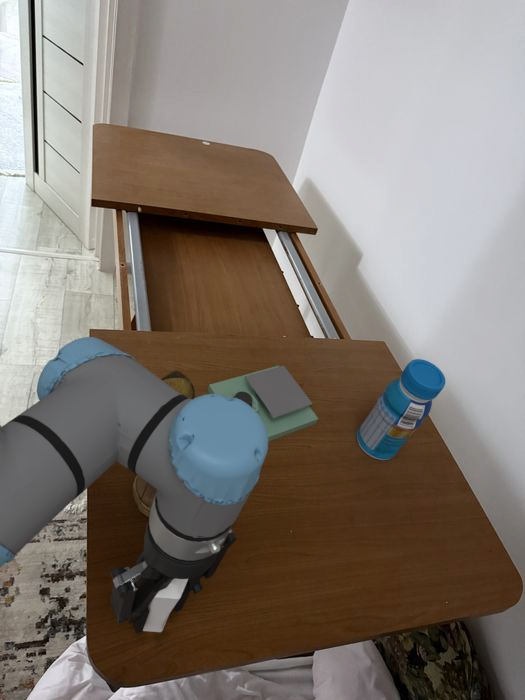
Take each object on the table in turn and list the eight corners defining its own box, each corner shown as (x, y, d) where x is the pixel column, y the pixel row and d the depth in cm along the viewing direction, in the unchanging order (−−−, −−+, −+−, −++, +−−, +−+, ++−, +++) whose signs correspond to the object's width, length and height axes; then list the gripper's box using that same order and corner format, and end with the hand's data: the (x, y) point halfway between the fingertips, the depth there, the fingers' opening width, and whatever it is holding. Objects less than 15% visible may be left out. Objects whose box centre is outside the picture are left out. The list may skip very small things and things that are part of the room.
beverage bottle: (346, 439, 94) (394, 367, 81) (368, 417, 100) (417, 347, 86) (382, 470, 91) (438, 401, 78) (403, 446, 97) (459, 378, 84)
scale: (242, 451, 86) (247, 439, 83) (204, 391, 93) (208, 378, 90) (315, 424, 95) (322, 412, 92) (276, 371, 102) (281, 359, 99)
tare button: (238, 414, 87) (240, 407, 86) (229, 400, 89) (231, 394, 87) (253, 409, 89) (256, 402, 88) (244, 395, 90) (246, 389, 89)
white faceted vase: (173, 598, 66) (195, 549, 56) (169, 635, 63) (192, 590, 53) (138, 595, 65) (154, 545, 55) (132, 632, 62) (148, 586, 52)
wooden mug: (185, 442, 84) (207, 369, 72) (195, 518, 75) (222, 450, 63) (130, 442, 81) (143, 367, 69) (133, 522, 72) (149, 451, 60)
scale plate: (272, 419, 88) (273, 417, 87) (244, 378, 93) (245, 376, 93) (311, 406, 93) (313, 404, 92) (282, 367, 98) (283, 365, 97)
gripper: (112, 606, 41) (95, 681, 56) (283, 522, 50) (229, 605, 66) (81, 526, 45) (74, 616, 60) (246, 462, 54) (203, 554, 70)
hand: (155, 610), depth 63 cm, fingers closed on white faceted vase, 4 cm apart
